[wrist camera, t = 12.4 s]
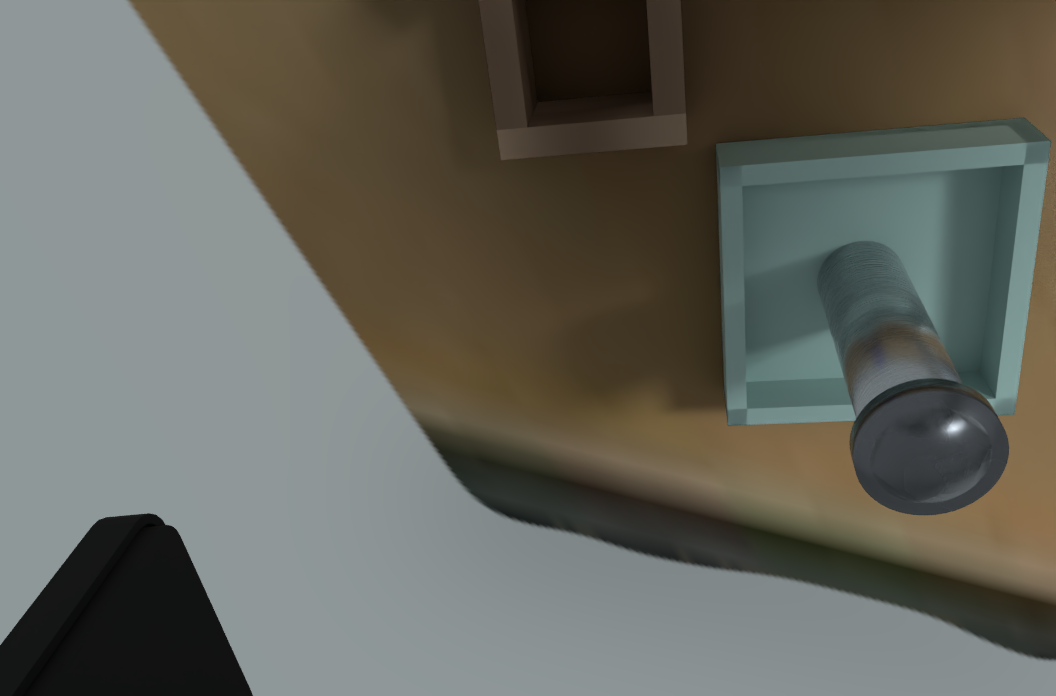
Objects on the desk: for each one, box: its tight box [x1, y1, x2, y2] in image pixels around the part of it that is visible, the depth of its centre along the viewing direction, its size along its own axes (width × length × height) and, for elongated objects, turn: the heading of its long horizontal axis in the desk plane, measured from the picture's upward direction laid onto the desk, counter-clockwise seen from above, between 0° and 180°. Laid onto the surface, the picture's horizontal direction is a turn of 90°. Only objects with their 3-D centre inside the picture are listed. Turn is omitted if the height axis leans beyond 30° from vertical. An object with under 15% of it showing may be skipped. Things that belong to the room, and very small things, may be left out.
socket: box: [478, 0, 687, 160], centre depth 31 cm, size 6×6×3 cm
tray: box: [716, 118, 1051, 425], centre depth 34 cm, size 10×10×2 cm
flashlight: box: [817, 241, 1009, 515], centre depth 30 cm, size 4×4×11 cm
